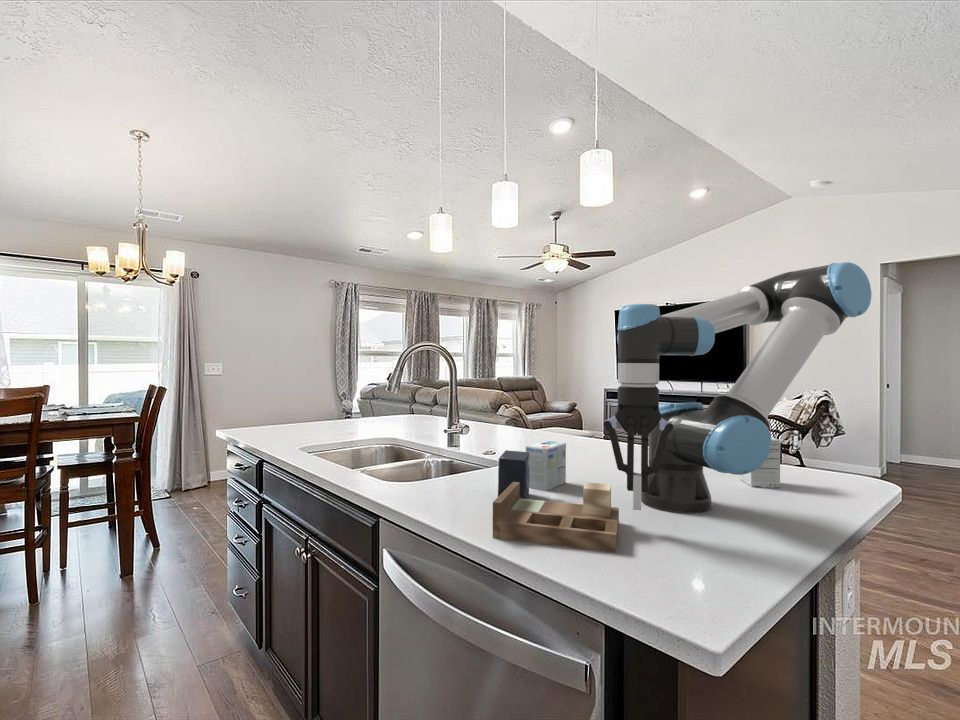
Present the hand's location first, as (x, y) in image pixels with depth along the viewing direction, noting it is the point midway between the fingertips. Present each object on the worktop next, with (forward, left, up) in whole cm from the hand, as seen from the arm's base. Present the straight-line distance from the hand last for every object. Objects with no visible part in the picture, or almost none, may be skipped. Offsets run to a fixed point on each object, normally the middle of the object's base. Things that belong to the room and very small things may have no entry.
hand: (637, 507), depth 95 cm
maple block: (+7, 0, -1) cm, 8 cm away
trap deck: (+14, +4, -4) cm, 16 cm away
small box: (+27, -14, -5) cm, 31 cm away
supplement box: (-32, -48, -5) cm, 58 cm away
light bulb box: (+22, -29, -5) cm, 37 cm away
